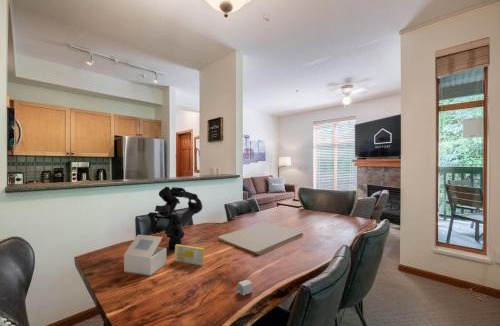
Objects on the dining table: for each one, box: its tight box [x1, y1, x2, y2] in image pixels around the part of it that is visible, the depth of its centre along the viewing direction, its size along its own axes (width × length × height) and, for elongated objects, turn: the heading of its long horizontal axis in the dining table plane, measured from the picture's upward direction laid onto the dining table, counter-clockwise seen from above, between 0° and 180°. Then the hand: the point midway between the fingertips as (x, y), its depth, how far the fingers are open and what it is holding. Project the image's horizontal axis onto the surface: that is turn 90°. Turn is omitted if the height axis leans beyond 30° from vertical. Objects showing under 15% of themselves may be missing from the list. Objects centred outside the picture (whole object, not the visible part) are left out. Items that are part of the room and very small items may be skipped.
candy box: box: [174, 244, 205, 267], centre depth 116 cm, size 16×2×8 cm, turn 71°
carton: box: [123, 246, 167, 277], centre depth 110 cm, size 12×14×8 cm
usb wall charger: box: [233, 279, 253, 297], centre depth 90 cm, size 4×7×4 cm, turn 125°
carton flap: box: [123, 234, 163, 258], centre depth 108 cm, size 11×14×1 cm
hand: (157, 232), depth 120 cm, fingers open, 9 cm apart
